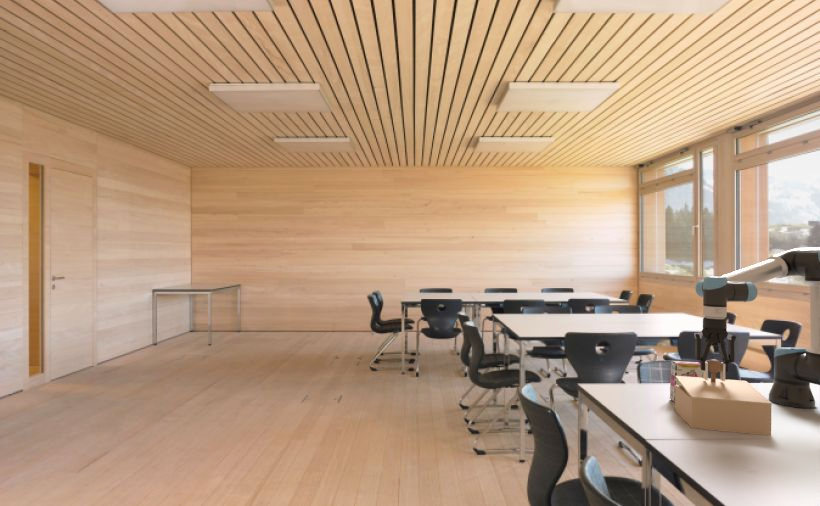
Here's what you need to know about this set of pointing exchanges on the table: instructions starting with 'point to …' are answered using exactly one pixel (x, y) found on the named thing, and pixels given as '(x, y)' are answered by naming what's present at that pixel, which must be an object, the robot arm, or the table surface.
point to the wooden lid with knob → (721, 388)
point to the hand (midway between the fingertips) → (714, 379)
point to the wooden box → (723, 414)
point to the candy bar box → (683, 373)
